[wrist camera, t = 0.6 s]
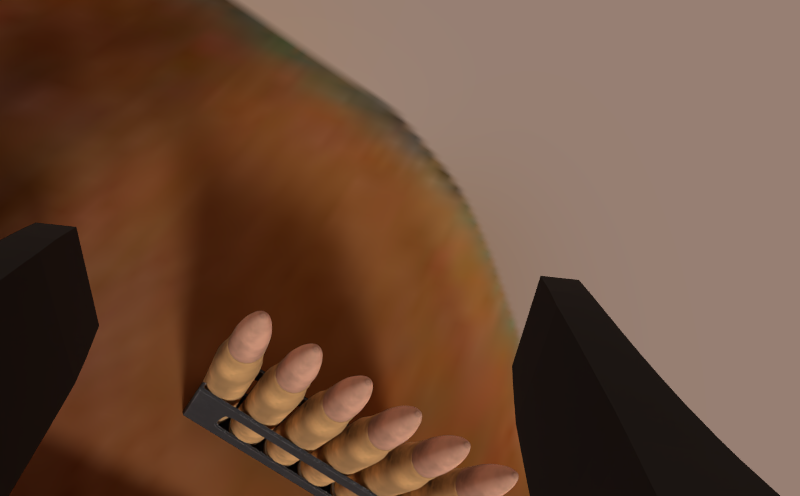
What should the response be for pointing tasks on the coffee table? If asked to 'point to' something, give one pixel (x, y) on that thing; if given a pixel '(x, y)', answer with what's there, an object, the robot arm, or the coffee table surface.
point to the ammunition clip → (328, 427)
